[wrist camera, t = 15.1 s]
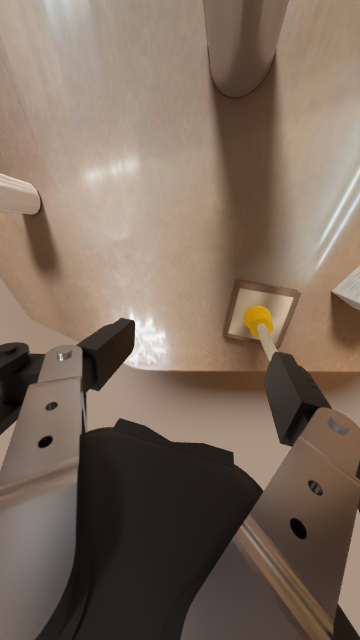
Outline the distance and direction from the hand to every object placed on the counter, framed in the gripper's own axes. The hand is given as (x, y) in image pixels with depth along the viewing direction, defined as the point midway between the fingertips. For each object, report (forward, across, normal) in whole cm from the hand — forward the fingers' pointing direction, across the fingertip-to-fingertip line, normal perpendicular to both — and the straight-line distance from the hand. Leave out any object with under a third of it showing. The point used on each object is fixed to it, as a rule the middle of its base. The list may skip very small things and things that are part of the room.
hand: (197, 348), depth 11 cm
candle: (+29, -10, +7) cm, 32 cm away
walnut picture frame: (+32, -10, +7) cm, 34 cm away
